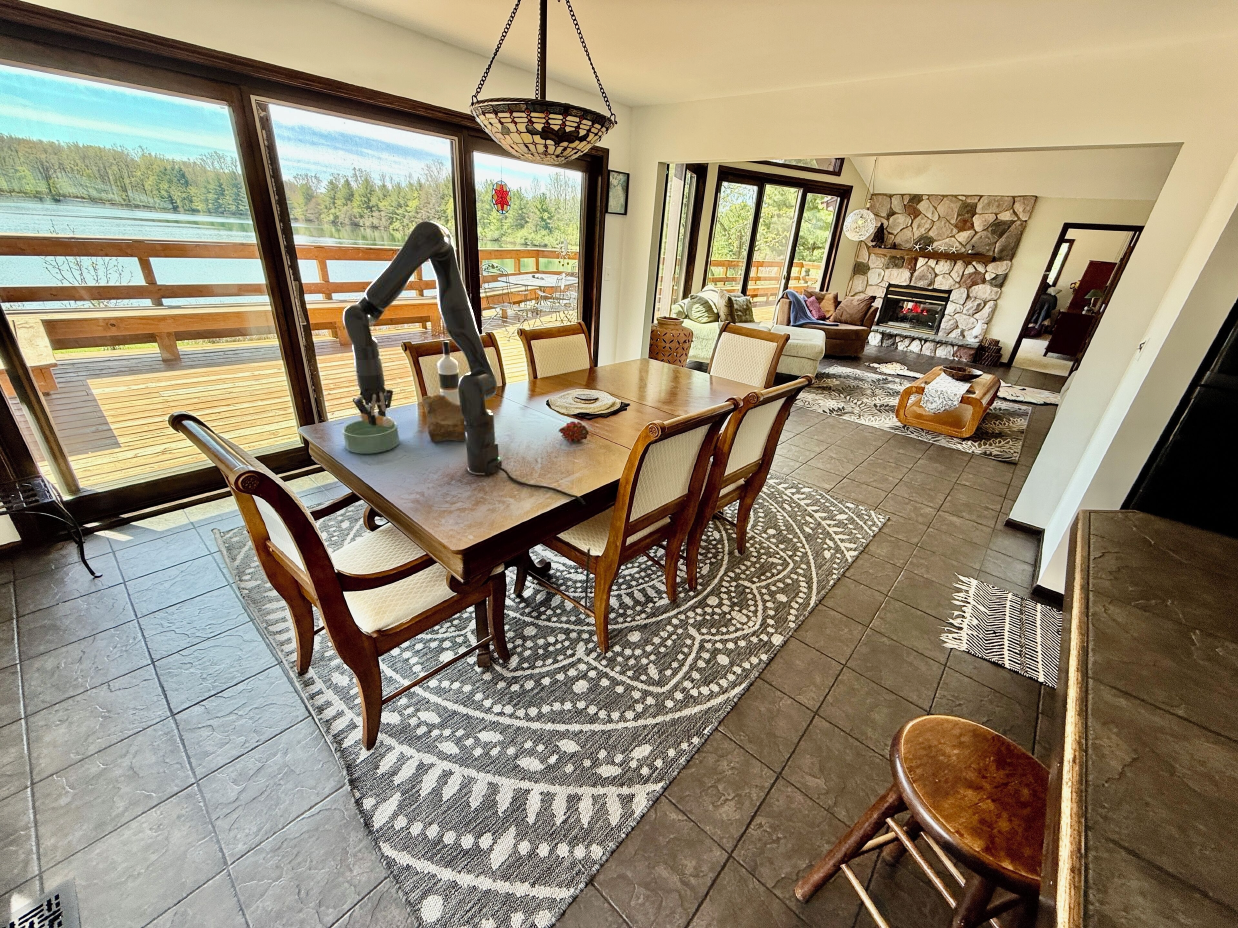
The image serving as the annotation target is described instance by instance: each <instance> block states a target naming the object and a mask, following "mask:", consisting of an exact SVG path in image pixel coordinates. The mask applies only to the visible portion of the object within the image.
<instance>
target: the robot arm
mask: <svg viewBox="0 0 1238 928" xmlns="http://www.w3.org/2000/svg"><path fill="white" fill-rule="evenodd" d="M427 261H429V263H430V266H431V269H432V271H433V275H434V277H435V282H436V297H437V308H438V312H439V315H440V319H441V322H442V324H443V327H444V331H445V332H446V334H447V335H448V337H449V338H450V340H451V341H452V342H453V343H454V344H455V346H456V347H457V348H458V349H459V350H460V351H461V352H462V354H463V356H464V357H465V360H466V362H467V365H468V369H469V372H468V373H466V374H464V375H462V376H461V377H459V382H458V395H459V402H460V409H461V413H462V415H463V417H464V424H465V436H466V441H465V446H466V459H467V472H468V473H469V474H471V475H474V476H486V477H489V476H490V475H492V474H494V473H496V472H497V471H499V470H500V471H502V472H503V473H504V474H505V475H506V476H507V478H509V480H511V481H512V482H513V483H516V484H518V485H521V486H525V487H529V488H536V489H546V490H550V491H553V492H556V493H559V494H562V495H564V496H566V497H569V498H574V499H577V500H578V501H579V502H580V503H581V504H582V505H586V502H585V501H584V500H583V498H582V497H580V496H579V495H577V494H572V493H568V492H566V491H564V490H561V489H558V488H556V487H552V486H549V485H548V486H547V485H542V484H541V485H540V484H533V483H528V482H524V481H521V480H518V479H516V478H514V477H513V476H512V475H510V473H509V471H507V470H506V469H505V468H504V467H503V460H502V459H500V455H499V443H498V442H496V429H495V428H496V427H495V426H496V425H495V414H494V412H493V410H490V409H487V407H486V400H488V399H490V398H493V396H495V395H496V393H497V391H498V382H497V378H496V375H495V373H494V371H493V368H492V365H491V363H490V360H489V358H488V356H487V353H486V351H485V348H484V345H483V341H482V339H481V335H480V333H479V330H478V326H477V321H476V318H475V315H474V311H473V309H472V306H471V303H470V299H469V296H468V293H467V290H466V287H465V284H464V282H463V279H462V276H461V272H460V270H459V264H458V260H457V255H456V250H455V245H454V239H453V237H452V235H451V233H450V231H449V230H448V228H446V227H445V226H443V225H441V224H440V223H437V222H434V221H430V220H423V221H420V222H418V223H417V224H416V225H415V226H414V228H412V230H411V231H410V233H409V235H408V236H407V238H406V240H405V241H404V243H403V245H402V246H401V248H400V249H399V251H398V252H397V254H396V255H395V256H394V258H393V259H392V260H391V262H390V263H389V264H388V265H387V266H386V268H385V269H384V270H383V271H382V272H381V273H380V274H379V275H378V276H377V277H376V278H375V279H374V281H372V283H371V284H370V285H369V286H368V287H367V288H366V290H365V292H364V296H363V297H362V298H361V299H360V300H359V301H358V302H357V303H355V304H352V305H349V306H347V307H346V308H345V309H344V311H343V315H342V320H343V325H344V328H345V332H346V333H347V336H348V339H349V340H350V342H351V347H352V348H351V349H352V353H353V358H354V362H353V363H354V369H355V375H356V381H357V387H358V388H359V390H360V391H359V396H357V398H356V397H354V398H352V402H353V404H354V405H355V407H356V408H357V410H358V411H359V414H360V413H361V414H365V415H367V416H368V422H369V424H370V425H372V426H376V425H377V424H376V418H375V415H374V411H375V409H377V415H380V416H384V417H387V413H386V411H387V409H390V408H391V406H392V405H391V404H392V401H393V394H394V390H393V389H389V388H386V386H385V385H386V382H385V375H384V369H383V364H382V359H381V356H380V350H379V344H378V340H377V339H376V338H375V337H373V334H372V331H371V327H372V326H373V325H375V324H376V323H377V322H378V320H380V318H381V317H382V316H383V314H384V313H385V311H386V310H387V308H389V307H390V306H391V305H392V304H393V303H394V302H395V301H396V299H398V297H399V296H401V294H402V293H403V291H404V290H405V289H406V287H407V285H408V283H409V282H410V280H411V278H412V276H413V275H414V273H415V272H416V271H417V270H418V269H419V268H420V267H421V266H422V265H424V264H425V263H426V262H427ZM590 560H591V547H589V548H587V551H586V569H585V570H586V572H585V586H584V587H585V588H584V611H587V610H588V595H589V594H588V593H589V577H590V564H591V563H590V562H591V561H590Z"/></svg>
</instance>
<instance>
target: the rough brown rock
mask: <svg viewBox="0 0 1238 928" xmlns="http://www.w3.org/2000/svg"><path fill="white" fill-rule="evenodd" d="M421 403H422V406H423V408H424V411H425V417H426V425H427V426H426V427H427V434H428V437H429V438H430V439H429V440H430V441H431V442H432V443H436V442H439V443H440V442H444V441H456V442H457V441H458V442H466V436H465V424H464V417H463V415H462V413H461V409H460V405H458V404H456V403H453V402H451V401H450V400H449V399H448V398H447V397H446V396H444V395H441V394H435V395H432V396H431V395H425V396H423V397H421Z"/></svg>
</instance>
